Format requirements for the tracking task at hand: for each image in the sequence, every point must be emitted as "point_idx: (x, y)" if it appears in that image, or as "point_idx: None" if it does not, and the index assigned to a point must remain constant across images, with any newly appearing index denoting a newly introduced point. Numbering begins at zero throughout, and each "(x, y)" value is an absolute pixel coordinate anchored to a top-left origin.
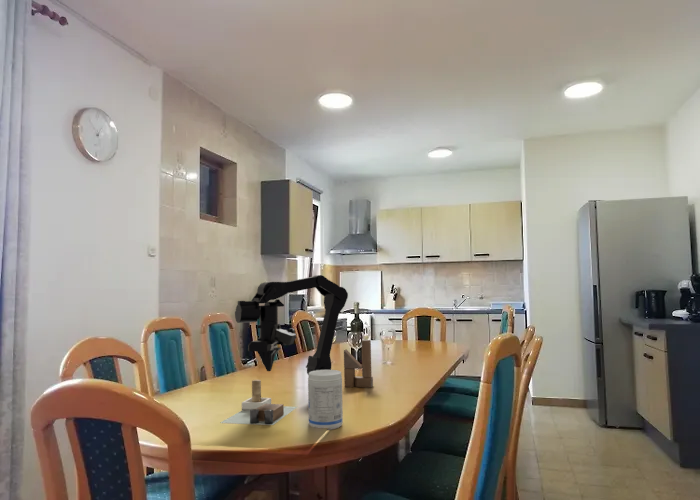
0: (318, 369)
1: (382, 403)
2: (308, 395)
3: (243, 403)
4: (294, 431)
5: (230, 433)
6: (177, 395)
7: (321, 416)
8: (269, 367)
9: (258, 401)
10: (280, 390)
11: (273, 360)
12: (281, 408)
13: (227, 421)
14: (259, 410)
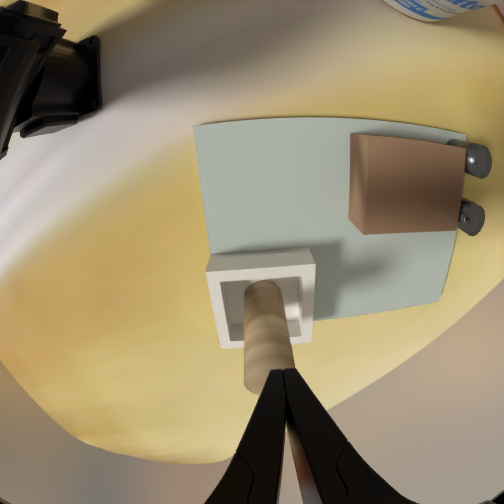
0: (3, 33)
1: None
2: (499, 2)
3: (311, 333)
4: (469, 63)
5: (488, 234)
6: (179, 456)
7: None
8: (312, 395)
9: (277, 297)
10: (21, 317)
11: (252, 449)
12: (386, 136)
13: (431, 290)
14: (459, 206)
